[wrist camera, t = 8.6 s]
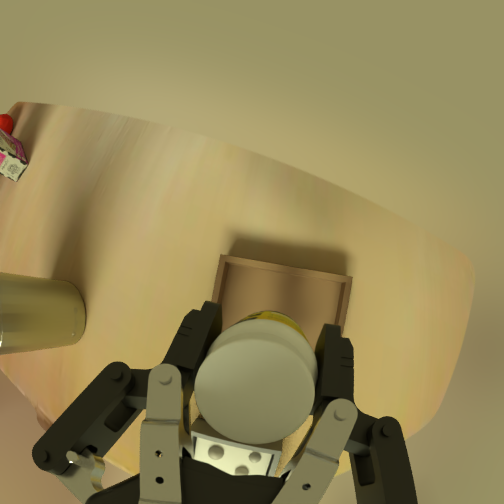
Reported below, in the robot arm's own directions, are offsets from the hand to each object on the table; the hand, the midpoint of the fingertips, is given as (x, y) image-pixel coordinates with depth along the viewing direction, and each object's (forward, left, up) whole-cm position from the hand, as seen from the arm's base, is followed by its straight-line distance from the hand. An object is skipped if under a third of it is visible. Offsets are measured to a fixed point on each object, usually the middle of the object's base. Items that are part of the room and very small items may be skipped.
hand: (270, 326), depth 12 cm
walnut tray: (0, -2, -16) cm, 16 cm away
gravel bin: (-1, -19, -16) cm, 25 cm away
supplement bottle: (0, -2, -4) cm, 5 cm away
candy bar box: (-56, +16, -16) cm, 61 cm away
